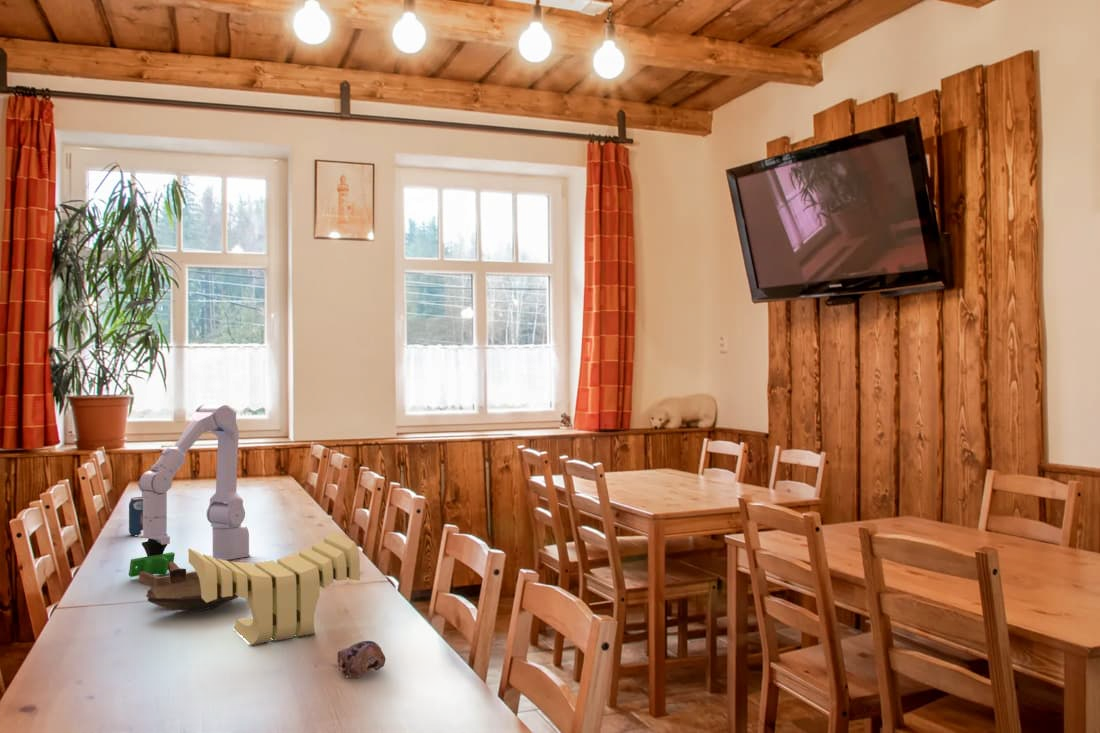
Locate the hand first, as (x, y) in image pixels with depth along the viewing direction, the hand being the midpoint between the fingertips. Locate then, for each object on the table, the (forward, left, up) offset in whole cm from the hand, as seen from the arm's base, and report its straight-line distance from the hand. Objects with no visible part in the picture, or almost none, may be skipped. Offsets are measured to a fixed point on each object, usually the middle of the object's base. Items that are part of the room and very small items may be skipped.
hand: (154, 568), depth 232 cm
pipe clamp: (+1, +2, -1) cm, 3 cm away
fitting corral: (-3, +11, -2) cm, 11 cm away
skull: (+5, +103, -2) cm, 103 cm away
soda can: (-19, -61, -2) cm, 64 cm away
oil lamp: (+5, +38, -2) cm, 39 cm away
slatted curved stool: (+4, +71, -2) cm, 71 cm away
